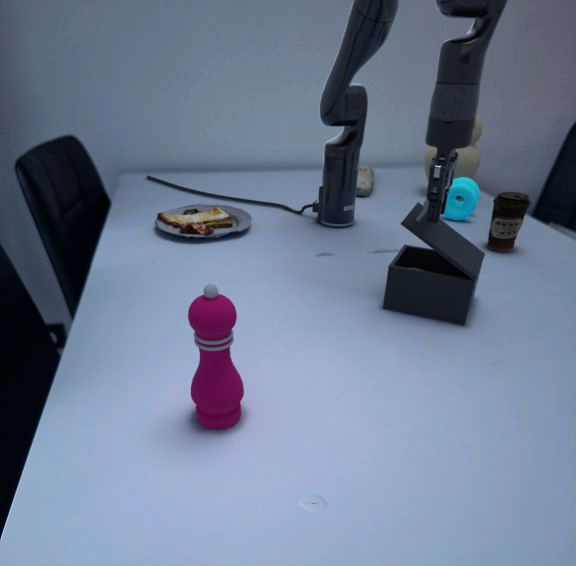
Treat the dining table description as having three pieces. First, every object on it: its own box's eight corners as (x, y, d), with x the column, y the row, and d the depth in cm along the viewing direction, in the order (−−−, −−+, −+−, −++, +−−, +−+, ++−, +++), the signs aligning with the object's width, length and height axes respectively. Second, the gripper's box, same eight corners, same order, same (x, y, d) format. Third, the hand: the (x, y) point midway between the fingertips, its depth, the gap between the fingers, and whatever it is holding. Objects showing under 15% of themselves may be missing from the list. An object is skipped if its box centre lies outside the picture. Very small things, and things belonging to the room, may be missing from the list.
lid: (400, 224, 93) (418, 199, 90) (415, 205, 103) (433, 182, 100) (474, 280, 93) (495, 258, 90) (482, 256, 103) (502, 235, 100)
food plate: (171, 249, 127) (169, 234, 125) (145, 220, 143) (143, 207, 141) (265, 234, 136) (265, 220, 134) (231, 209, 153) (230, 196, 151)
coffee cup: (520, 256, 128) (535, 201, 121) (484, 252, 129) (497, 198, 122) (514, 243, 135) (529, 191, 128) (481, 240, 136) (493, 188, 129)
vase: (478, 193, 173) (502, 88, 156) (463, 205, 161) (486, 93, 144) (429, 185, 180) (447, 84, 163) (411, 196, 169) (427, 88, 151)
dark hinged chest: (382, 308, 103) (388, 266, 98) (398, 284, 113) (404, 244, 108) (464, 325, 99) (475, 281, 93) (473, 298, 108) (483, 257, 103)
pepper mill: (194, 401, 78) (182, 272, 66) (244, 399, 78) (240, 272, 67) (191, 433, 72) (177, 298, 60) (245, 431, 72) (241, 297, 61)
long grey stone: (342, 200, 167) (374, 203, 167) (345, 183, 164) (377, 186, 164) (344, 167, 195) (371, 170, 194) (346, 152, 191) (373, 155, 191)
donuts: (435, 218, 150) (442, 182, 144) (441, 209, 158) (447, 174, 152) (472, 224, 147) (480, 186, 141) (475, 214, 155) (483, 178, 149)
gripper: (437, 107, 94) (422, 205, 103) (420, 118, 83) (405, 226, 92) (481, 110, 91) (462, 210, 101) (469, 121, 80) (449, 232, 90)
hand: (435, 217), depth 97 cm, fingers closed on lid, 5 cm apart
